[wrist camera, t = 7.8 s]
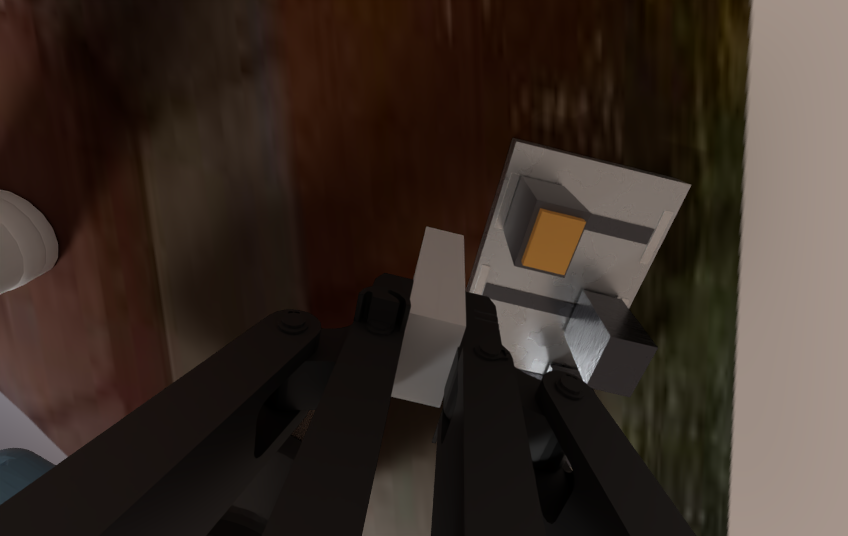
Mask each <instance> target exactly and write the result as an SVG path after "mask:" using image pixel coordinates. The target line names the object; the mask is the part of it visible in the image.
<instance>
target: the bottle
mask: <svg viewBox="0 0 848 536" xmlns="http://www.w3.org/2000/svg"><path fill="white" fill-rule="evenodd" d="M57 259H58V242H57V239H56V236H55V233H54V230H53V228H52V226H51V225H50V224H49V222H48V221H47V219H46V218H45V217H44V215H43V214H42V213H41V212H40V211H39V210H38V209H36V208H35V207H34V206H33V205H32V204H31V203H30V202H28V201H27V200H25V199H23V198H21V197H19V196H18V195H16V194H14V193H12V192H9V191H4V190H0V294H2V293H4V292H6V291H11V290H13V289H16V288H18V287H20V286H22V285H24V284H26V283H28V282H30V281H31V280H33V279H34V278H36V277H38V276H40V275H42V274H44V273H46V272H47V271H49V270H50V269H52V268H53V266H54V264H55V263H56V261H57Z"/></svg>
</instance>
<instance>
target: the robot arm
mask: <svg viewBox="0 0 848 536" xmlns="http://www.w3.org/2000/svg"><path fill="white" fill-rule="evenodd" d="M443 396H444V403H443V409H442V412H441V416H440V419H439V422H438V425H437V428H436V431H435V434H434V437H433V440H432V443H436V441H437V451H436V467H435V482H434V497H433V513H432V528H431V536H696V535H695V533H694V532H693V530H692V529H691V528H690V526H689V525H688V523H687V522H686V521H685V519H684V518H683V516H682V515H681V514H680V512H679V511H678V509H677V508H676V507H675V505H674V504H673V502H672V501H671V499H670V498H669V497H668V495H667V494H666V492H665V491H664V490H663V488H662V487H661V485H660V484H659V483H658V481H657V480H656V478H655V477H654V476H653V474H652V473H651V471H650V470H649V469H648V467H647V466H646V464H645V463H644V462H643V460H642V459H641V457H640V456H639V455H638V453H637V452H636V450H635V449H634V447H633V446H632V445H631V443H630V442H629V440H628V439H627V438H626V436H625V435H624V433H623V432H622V431H621V429H620V428H619V426H618V425H617V424H616V422H615V421H614V419H613V418H612V417H611V415H610V414H609V412H608V411H607V410H606V408H605V407H604V405H603V404H602V402H601V401H600V400H599V398H598V397H597V395H596V394H595V393H594V391H593V390H592V389H591V388H590V387H589V386H588V385H587V384H586V383H585V382H584V381H582V380H581V379H579V378H578V377H577V376H575V375H572V374H570V373H567V372H563V371H558V370H556V371H549V372H547V373H545V374H544V376H543V378H542V380H539V379H537V378H535V377H533V376H531V375H528V374H526V373H524V372H523V371H521V370H519V369H518V368H516V367H515V366H514V361H513V358H512V355H511V353H510V352H509V351H508V350H507V349H506V348H505V347H504V346H503V345H502V342H501V336H500V330H499V324H498V317H497V311H496V306H495V304H494V303H493V302H492V301H491V299H490V298H489V297H487V296H483V295H479V294H475V293H471V292H466V291H465V265H464V236H463V235H459V234H455V233H451V232H447V231H443V230H439V229H435V228H431V227H427V226H426V230H425V234H424V238H423V242H422V247H421V251H420V255H419V259H418V263H417V267H416V271H415V275H414V279H413V280H412V279H408V278H404V277H400V276H395V275H391V274H387V273H384V274H382V275H381V276H379V277H377V278H376V279H375V282H374V284H373V286H371V287H368V288H365V289H363V290H362V291H361V292H360V293H359V296H358V301H357V306H356V312H355V317H354V322H353V324H352V325H350V326H348V327H344V328H337V329H324V328H321V323H320V321H319V320H318V319H317V318H316V317H315V316H313V315H312V314H310V313H308V312H304V311H300V310H282V311H277V312H275V313H273V314H271V315H269V316H267V317H266V318H264V319H263V320H262V321H260V322H259V323H257V324H256V325H255V326H253V327H252V328H250V329H249V330H247V331H246V332H245V333H243V334H242V335H240V336H239V337H238V338H236V339H235V340H233V341H232V342H230V343H229V344H228V345H226V346H225V347H223V348H222V349H221V350H219V351H218V352H216V353H215V354H213V355H212V356H211V357H209V358H208V359H206V360H205V361H204V362H202V363H201V364H199V365H198V366H196V367H195V368H194V369H192V370H191V371H189V372H188V373H187V374H185V375H184V376H182V377H181V378H179V379H178V380H177V381H175V382H174V383H172V384H171V385H170V386H168V387H167V388H165V389H164V390H162V391H161V392H160V393H158V394H157V395H155V396H154V397H153V398H151V399H150V400H148V401H147V402H145V403H144V404H143V405H141V406H140V407H138V408H137V409H136V410H134V411H133V412H131V413H130V414H128V415H127V416H126V417H124V418H123V419H121V420H120V421H119V422H117V423H116V424H114V425H113V426H111V427H110V428H109V429H107V430H106V431H104V432H103V433H102V434H100V435H99V436H97V437H96V438H94V439H93V440H92V441H90V442H89V443H87V444H86V445H84V446H83V447H82V448H80V449H79V450H77V451H76V452H75V453H73V454H72V455H70V456H69V457H67V458H66V459H65V460H63V461H62V462H61V463H59V464H58V465H54V464H52V463H51V462H49V461H47V460H45V459H44V458H42V457H41V456H39V455H37V454H35V453H34V452H32V451H29V450H26V449H21V448H8V449H3V450H0V536H362V532H363V527H364V523H365V518H366V513H367V508H368V504H369V499H370V494H371V489H372V485H373V480H374V475H375V470H376V466H377V461H378V456H379V451H380V447H381V442H382V437H383V432H384V428H385V423H386V418H387V413H388V409H389V404H390V399H391V397H395V398H400V399H404V400H408V401H412V402H417V403H421V404H425V405H429V406H434V407H438V408H440V406H441V402H442V399H443ZM309 410H315V413H314V415H313V417H312V420H311V422H310V424H309V427H308V429H307V431H306V434H305V436H304V438H303V441H302V442H301V441H300V440H298V439H296V438H294V437H292V436H290V435H291V434H292V433H293V431H294V430H295V429H296V428H297V427H298V425H299V424H300V423H301V422H302V421H303V419H304V418H305V417H306V415H307V413H308V411H309ZM566 459H568V461H569V463H570V464H571V467H572V469H573V471H572V470H571V469H570V467H569V465H568V463H567V461H566Z"/></svg>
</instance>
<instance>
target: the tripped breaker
mask: <svg viewBox="0 0 848 536" xmlns="http://www.w3.org/2000/svg"><path fill="white" fill-rule="evenodd" d="M590 215H591V212H590V211H589V210H588V209H587V208H586V207H585V206H584V205H583V204H582V203H581V202H580V201H579V200H578V199H577V198H576V197H575V196H574V195H573V194H572V193H571V192H570V191H569V190H568V189H567V188H566V187H565V186H561V185H557V184H553V183H549V182H545V181H541V180H537V179H533V178H529V177H525V176H521V178H520V181H519V184H518V187H517V190H516V193H515V196H514V199H513V202H512V206H511V209H510V212H509V215H508V218H507V221H506V224H505V227H504V230H503V231H504V235H505V238H506V241H507V245H508V248H509V251H510V254H511V258H512V261H513V264H514V266H516V267H520V268H524V269H528V270H532V271H537V272H541V273H545V274H549V275H553V276H557V277H562V278H565V275H566V273H567V271H568V268H569V266H570V263H571V261H572V259H573V256H574V254H575V251H576V249H577V246H578V244H579V242H580V239H581V237H582V234H583V232H584V230H585V227H586V225H587V222H588V220H589V217H590Z"/></svg>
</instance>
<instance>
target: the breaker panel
mask: <svg viewBox="0 0 848 536" xmlns="http://www.w3.org/2000/svg"><path fill="white" fill-rule="evenodd" d="M521 176H525V177H529V178H533V179H537V180H541V181H545V182H549V183H553V184H557V185H561V186H565V187H566V188H567V189H568V190H569V191H570V192H571V193H572V194H573V195H574V196H575V197H576V198H577V199H578V200H579V201H580V202H581V203H582V204H583V205H584V206H585V207H586V208H587V209H588V210H589V211H590V212H591V215H590V217H589V220H588V222H587V225H586V227H585V230H584V232H583V234H582V237H581V239H580V242H579V244H578V246H577V249H576V251H575V254H574V256H573V259H572V261H571V263H570V266H569V268H568V271H567V273H566V275H565V278H562V277H557V276H553V275H549V274H545V273H541V272H537V271H532V270H528V269H524V268H520V267H516V266H514V264H513V261H512V258H511V254H510V251H509V248H508V245H507V241H506V238H505V235H504V231H503V230H504V227H505V224H506V221H507V218H508V215H509V212H510V209H511V206H512V202H513V199H514V196H515V193H516V190H517V187H518V184H519V181H520V178H521ZM690 187H691V185H690V184H688V183H686V182H684V181H681V180H679V179H677V178H673V177H669V176H665V175H661V174H657V173H653V172H649V171H645V170H641V169H637V168H633V167H629V166H625V165H621V164H617V163H613V162H609V161H605V160H600V159H596V158H592V157H588V156H584V155H580V154H576V153H572V152H568V151H564V150H560V149H556V148H552V147H548V146H544V145H540V144H536V143H532V142H528V141H524V140H520V139H516V138H512V142H511V145H510V148H509V151H508V155H507V158H506V161H505V164H504V168H503V171H502V174H501V177H500V181H499V184H498V187H497V191H496V194H495V197H494V200H493V204H492V207H491V210H490V213H489V217H488V220H487V223H486V226H485V230H484V233H483V236H482V240H481V243H480V246H479V249H478V253H477V256H476V259H475V262H474V266H473V269H472V272H471V275H470V279H469V282H468V285H467V289H466V292H471V293H475V294H479V295H483V296H487V297H489V298H490V299H491V301H492V302H493V303H494V304H495V306H496V311H497V317H498V324H499V330H500V336H501V342H502V345H503V346H504V347H505V348H506V349H507V350H508V351H509V352H510V353H511V355H512V358H513V361H514V366H515V367H516V368H518V369H519V370H521V371H523V372H524V373H526V374H528V375H531V376H533V377H535V378H537V379H539V380H542V378H543V376H544V374H545V373H547V372H549V371H556V370H558V371H563V372H567V373H570V374H572V375H575V376H577V377H578V378H579V379H581V380H582V381H584V382H585V383H586V384H587V385H588V386H589V387H590V388H591V389H592V390H593V389H597V390H601V391H605V392H610V393H614V394H618V395H623V396H627V397H630V396H631V395H632V393H633V391H634V389H635V388H636V386H637V384H638V382H639V381H640V379H641V377H642V375H643V373H644V372H645V370H646V368H647V366H648V365H649V363H650V361H651V359H652V358H653V356H654V354H655V352H656V350H657V349H658V347H657V346H656V344H655V343H654V342H653V340H652V339H651V338H650V336H649V335H648V334H647V332H646V331H645V330H644V328H643V327H642V326H641V324H640V323H639V322H638V320H637V319H636V318H635V316H634V315H633V314H632V312H631V311H630V310H629V308H630V306H631V304H632V302H633V300H634V298H635V296H636V294H637V292H638V290H639V288H640V286H641V284H642V282H643V280H644V278H645V276H646V274H647V272H648V270H649V268H650V266H651V264H652V262H653V260H654V258H655V256H656V254H657V252H658V250H659V248H660V246H661V244H662V242H663V240H664V238H665V236H666V234H667V232H668V230H669V228H670V226H671V224H672V222H673V220H674V218H675V216H676V214H677V212H678V210H679V208H680V206H681V204H682V203H683V201H684V199H685V197H686V195H687V193H688V191H689V189H690ZM593 391H594V390H593ZM594 393H595V392H594ZM443 397H444V396H443ZM566 461H567V463H568V465H569V466H570V467H571V464H570V463H569V461H568V459H566Z"/></svg>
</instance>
